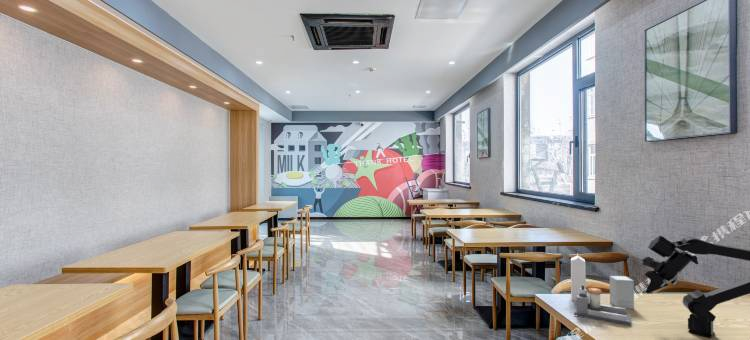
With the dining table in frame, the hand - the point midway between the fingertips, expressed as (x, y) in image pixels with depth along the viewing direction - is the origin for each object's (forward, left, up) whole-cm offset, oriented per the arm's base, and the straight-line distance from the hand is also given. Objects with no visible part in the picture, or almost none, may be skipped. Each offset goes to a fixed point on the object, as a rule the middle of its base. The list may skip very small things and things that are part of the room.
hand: (646, 292), depth 150 cm
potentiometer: (+21, +9, -4) cm, 23 cm away
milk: (+30, -7, -13) cm, 34 cm away
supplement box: (+14, -14, -13) cm, 24 cm away
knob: (+16, +8, -11) cm, 21 cm away
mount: (+14, +7, -12) cm, 20 cm away
